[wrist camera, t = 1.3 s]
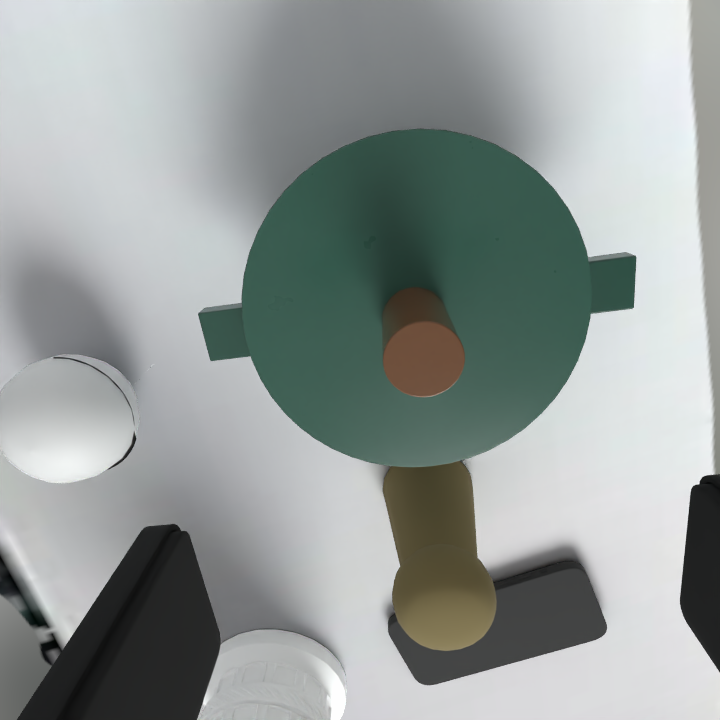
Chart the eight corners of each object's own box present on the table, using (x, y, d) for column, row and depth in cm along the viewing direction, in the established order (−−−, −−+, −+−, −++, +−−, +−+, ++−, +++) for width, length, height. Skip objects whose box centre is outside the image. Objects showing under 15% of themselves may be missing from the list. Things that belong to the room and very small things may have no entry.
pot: (211, 174, 28) (155, 179, 21) (580, 117, 26) (653, 102, 19) (264, 408, 33) (234, 474, 26) (578, 372, 31) (635, 432, 24)
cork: (473, 448, 33) (515, 575, 23) (471, 524, 36) (509, 671, 25) (381, 451, 34) (381, 577, 24) (384, 526, 36) (386, 671, 26)
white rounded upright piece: (86, 456, 35) (14, 528, 28) (22, 360, 32) (-74, 413, 25) (217, 408, 33) (175, 473, 26) (159, 304, 31) (97, 345, 24)
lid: (211, 160, 21) (151, 160, 16) (585, 102, 20) (667, 78, 14) (282, 469, 26) (256, 554, 21) (581, 438, 25) (639, 519, 20)
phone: (382, 624, 38) (582, 562, 35) (382, 614, 39) (578, 554, 36) (420, 689, 40) (611, 636, 38) (420, 679, 41) (606, 626, 38)
